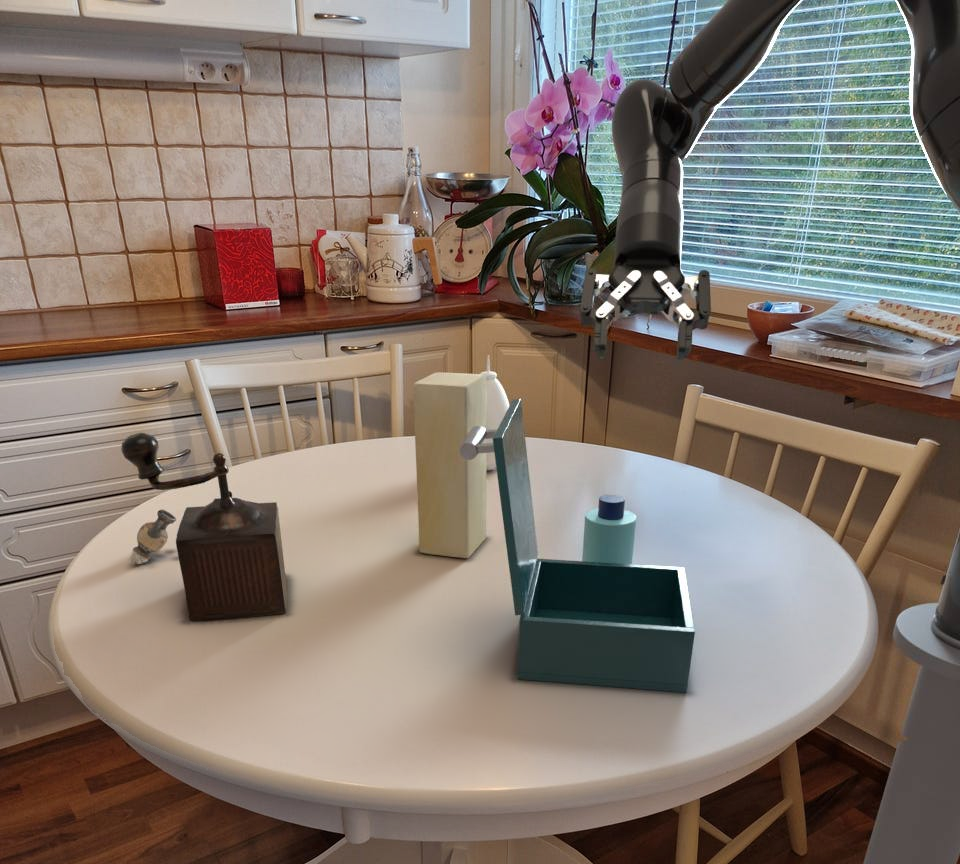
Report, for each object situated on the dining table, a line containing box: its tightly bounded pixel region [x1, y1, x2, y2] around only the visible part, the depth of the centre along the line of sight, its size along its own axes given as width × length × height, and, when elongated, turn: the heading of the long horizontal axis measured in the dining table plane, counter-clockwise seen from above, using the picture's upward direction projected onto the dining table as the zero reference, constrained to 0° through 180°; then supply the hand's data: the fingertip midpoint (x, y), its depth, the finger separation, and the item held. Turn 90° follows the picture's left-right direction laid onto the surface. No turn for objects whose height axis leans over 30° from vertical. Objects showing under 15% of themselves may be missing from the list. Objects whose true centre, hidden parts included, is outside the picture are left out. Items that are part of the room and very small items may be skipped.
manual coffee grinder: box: [120, 432, 288, 622], centre depth 91 cm, size 16×11×18 cm
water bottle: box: [581, 494, 637, 564], centre depth 95 cm, size 6×6×11 cm
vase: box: [129, 509, 177, 565], centre depth 104 cm, size 5×5×6 cm
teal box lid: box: [460, 398, 539, 616], centre depth 80 cm, size 16×15×5 cm
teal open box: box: [517, 558, 696, 693], centre depth 84 cm, size 16×15×6 cm
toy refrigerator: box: [412, 371, 487, 559], centre depth 104 cm, size 8×7×21 cm
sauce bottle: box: [479, 354, 510, 471], centre depth 135 cm, size 8×8×18 cm
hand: (641, 355), depth 93 cm, fingers open, 8 cm apart
